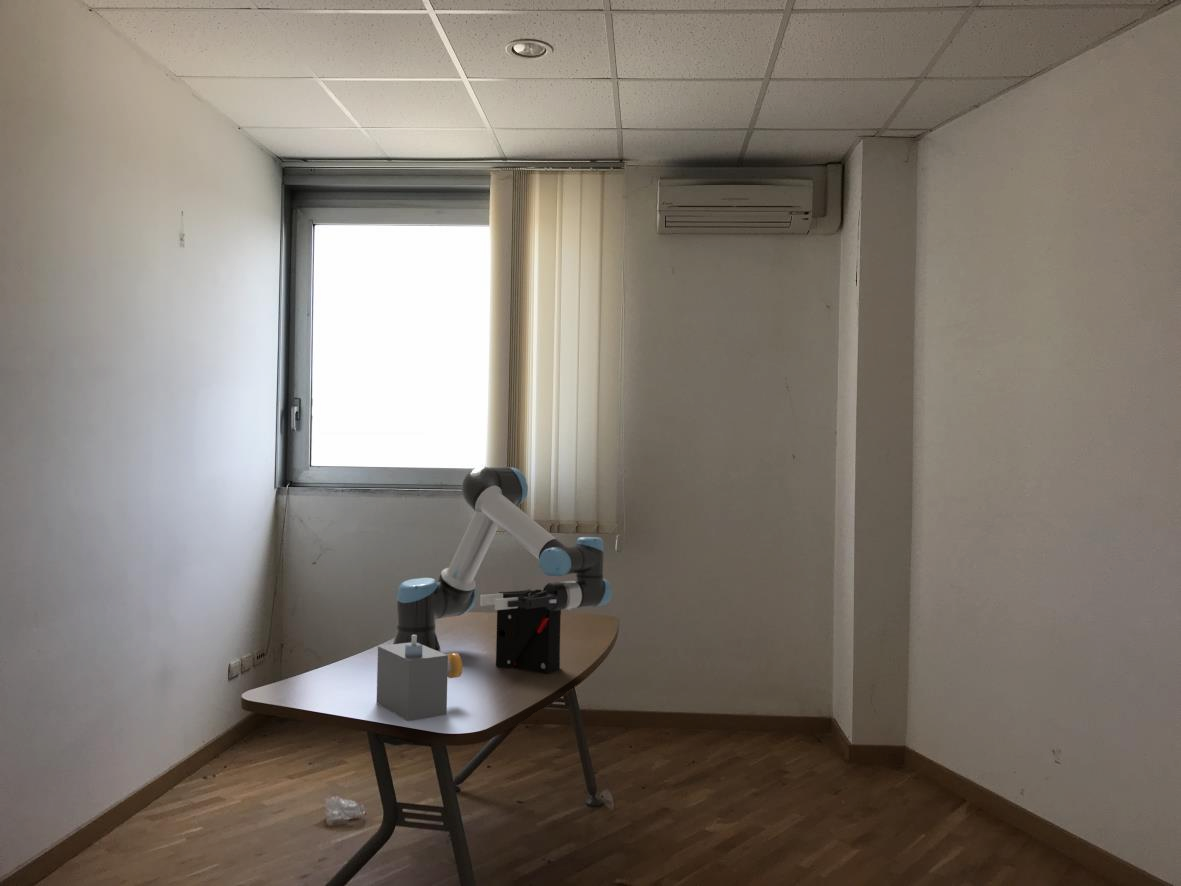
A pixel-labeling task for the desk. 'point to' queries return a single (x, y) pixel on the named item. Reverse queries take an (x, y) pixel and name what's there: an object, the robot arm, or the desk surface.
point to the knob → (454, 665)
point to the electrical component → (528, 639)
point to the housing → (412, 682)
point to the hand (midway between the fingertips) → (488, 602)
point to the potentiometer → (413, 648)
